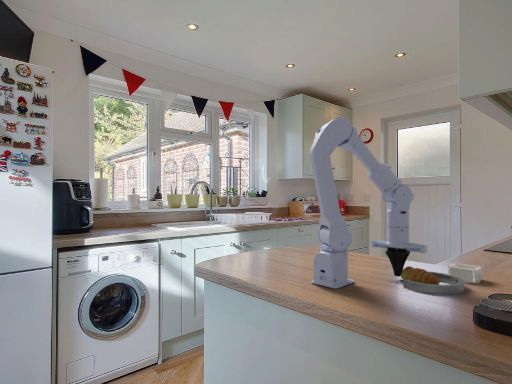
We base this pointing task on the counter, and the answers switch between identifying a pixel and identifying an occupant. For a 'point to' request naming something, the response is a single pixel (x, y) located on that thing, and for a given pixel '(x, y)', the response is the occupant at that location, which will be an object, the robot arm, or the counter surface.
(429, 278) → the pastry
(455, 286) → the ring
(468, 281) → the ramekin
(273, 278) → the counter surface
